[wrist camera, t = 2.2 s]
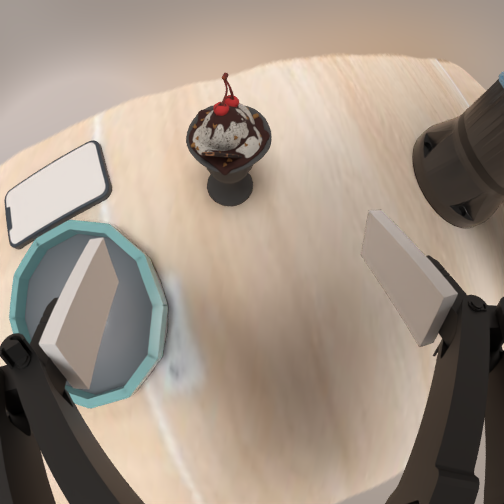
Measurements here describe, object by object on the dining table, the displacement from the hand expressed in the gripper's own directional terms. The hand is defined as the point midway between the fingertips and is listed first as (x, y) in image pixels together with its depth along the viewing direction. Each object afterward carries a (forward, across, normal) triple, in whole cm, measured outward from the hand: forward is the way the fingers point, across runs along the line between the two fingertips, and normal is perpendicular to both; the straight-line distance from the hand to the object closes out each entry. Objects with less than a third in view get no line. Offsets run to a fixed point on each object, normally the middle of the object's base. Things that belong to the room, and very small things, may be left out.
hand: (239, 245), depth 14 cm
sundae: (+19, 0, -4) cm, 19 cm away
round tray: (+10, -17, -13) cm, 23 cm away
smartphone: (+21, -22, -3) cm, 30 cm away
